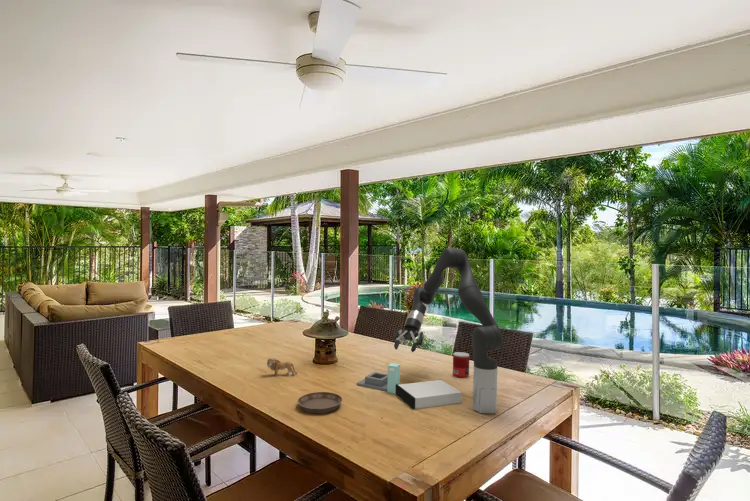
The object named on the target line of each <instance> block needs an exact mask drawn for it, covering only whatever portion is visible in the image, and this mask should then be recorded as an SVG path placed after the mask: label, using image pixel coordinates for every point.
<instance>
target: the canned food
mask: <svg viewBox="0 0 750 501" xmlns="http://www.w3.org/2000/svg"><path fill="white" fill-rule="evenodd" d="M452 355H453V356H452V375H453V377H455V378H459V379H466V378H469V375H470V354H469V353H468V352H462V351H461V352H460V351H457V352H456V351H455V352H453V353H452Z"/></svg>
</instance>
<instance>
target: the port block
mask: <svg viewBox="0 0 750 501" xmlns="http://www.w3.org/2000/svg"><path fill="white" fill-rule="evenodd" d="M356 386H359V387H363V388H369V389H373V390H377V391H378V390H379V391H384V392H387V386H388V373H387V374H386V373H382V372H376V371H374V372H372V373H369V374H368V375H365V377H364V378H363V379H361V380H359V381H358V382H356Z"/></svg>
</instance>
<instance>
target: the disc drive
mask: <svg viewBox="0 0 750 501" xmlns="http://www.w3.org/2000/svg"><path fill="white" fill-rule="evenodd" d="M462 395H463V392H462V391H460V390H459V389H457V388H455V387H453V386H452V385H451V384H449V383H447V382H445V381H443V380H442V379H438V380H437V379H436V380H427V381H420V382H412V383H411V382H410V383H403V384H402V383H401V384H400V385H398V384H396V394H395V396H397V397H398V398H399V399H400V400H402V401H403V402H404V403H405V404H406V405H408V406H409V407H410V408H411V409H412V410H417V409H425V408H426V409H427V408H431V407H432V408H433V407H440V406H447V405H454V404H461V403H462V401H463V400H462V397H463V396H462Z"/></svg>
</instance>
